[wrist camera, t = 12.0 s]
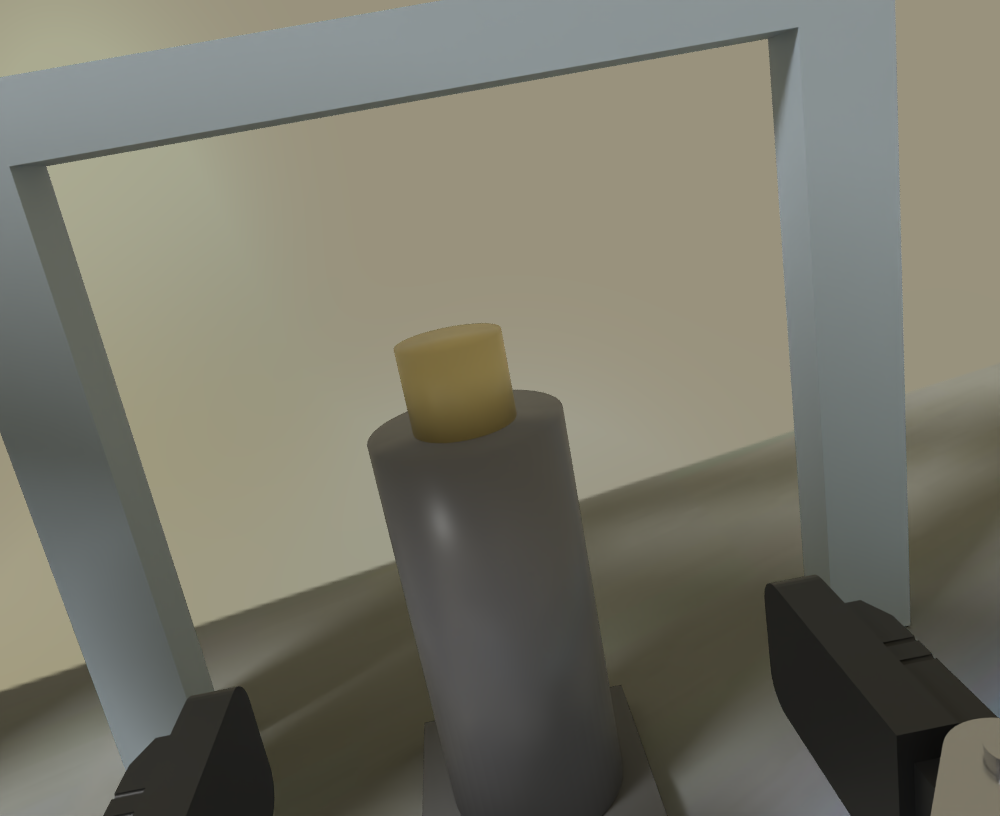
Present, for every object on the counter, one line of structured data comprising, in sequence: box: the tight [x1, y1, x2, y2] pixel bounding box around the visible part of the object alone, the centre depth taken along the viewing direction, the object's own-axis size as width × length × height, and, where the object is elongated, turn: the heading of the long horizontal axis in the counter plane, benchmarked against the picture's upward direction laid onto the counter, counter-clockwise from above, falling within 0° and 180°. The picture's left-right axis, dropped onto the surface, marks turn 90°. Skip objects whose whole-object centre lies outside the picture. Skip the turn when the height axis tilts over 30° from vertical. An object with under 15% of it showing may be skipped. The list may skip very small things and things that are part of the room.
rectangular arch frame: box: [0, 0, 911, 770], centre depth 24 cm, size 25×2×20 cm, turn 94°
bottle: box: [367, 323, 623, 816], centre depth 20 cm, size 4×4×12 cm
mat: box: [422, 685, 667, 816], centre depth 22 cm, size 6×6×1 cm
